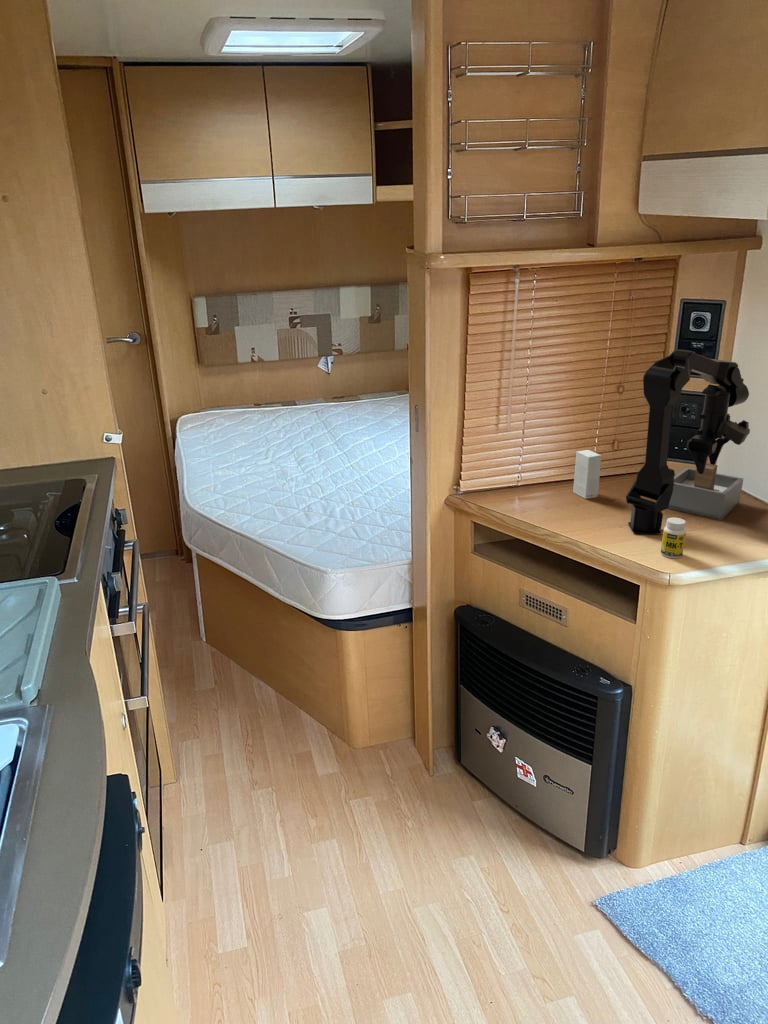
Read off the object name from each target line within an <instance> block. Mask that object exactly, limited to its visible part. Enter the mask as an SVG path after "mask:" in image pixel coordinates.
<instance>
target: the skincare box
mask: <svg viewBox="0 0 768 1024" xmlns="http://www.w3.org/2000/svg"><path fill="white" fill-rule="evenodd" d="M575 453H576V454H575V462H574V463H575V465H574V476H573V477H574V478H573V487H572V489H573V490H572V492H573V493H574V494H575V495H578V496H579V497H581V498H583V499H585V500H588V499H593V498H594V499H595V498H598V496H599V486H600V476H601V466H602V464H601V463H602V454H599V453H597V452H594V451H592V450H590V449H585V450H577V451H575Z"/></svg>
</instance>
